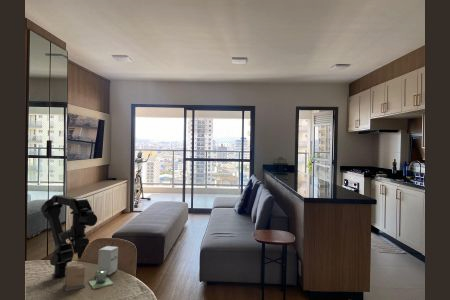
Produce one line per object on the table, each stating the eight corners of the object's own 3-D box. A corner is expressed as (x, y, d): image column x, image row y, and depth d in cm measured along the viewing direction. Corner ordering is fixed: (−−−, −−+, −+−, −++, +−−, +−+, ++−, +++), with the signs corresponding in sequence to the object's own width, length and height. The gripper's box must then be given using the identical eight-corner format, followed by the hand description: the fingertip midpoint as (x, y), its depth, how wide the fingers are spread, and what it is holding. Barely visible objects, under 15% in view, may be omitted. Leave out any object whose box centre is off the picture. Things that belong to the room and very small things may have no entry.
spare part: (94, 281, 142) (95, 271, 142) (104, 279, 145) (105, 269, 145) (97, 284, 138) (97, 273, 139) (107, 282, 141) (107, 272, 141)
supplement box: (109, 275, 152) (110, 250, 153) (97, 273, 154) (98, 249, 155) (117, 270, 160) (118, 246, 160) (105, 269, 161) (106, 245, 162)
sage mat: (88, 282, 142) (88, 281, 142) (107, 278, 148) (107, 277, 148) (93, 288, 135) (93, 287, 135) (113, 284, 141) (113, 283, 141)
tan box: (63, 286, 138) (64, 266, 138) (82, 282, 142) (82, 263, 143) (65, 291, 132) (66, 270, 133) (85, 287, 137) (86, 267, 137)
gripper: (57, 222, 148) (55, 253, 147) (63, 228, 133) (61, 264, 132) (81, 220, 155) (80, 250, 154) (90, 226, 140) (88, 259, 139)
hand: (77, 255), depth 145 cm, fingers open, 9 cm apart
